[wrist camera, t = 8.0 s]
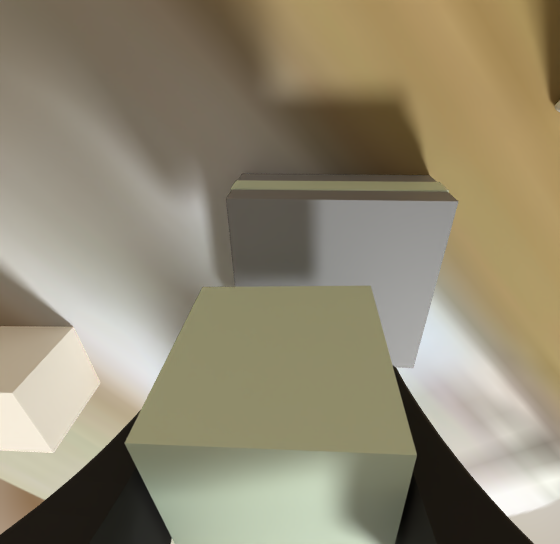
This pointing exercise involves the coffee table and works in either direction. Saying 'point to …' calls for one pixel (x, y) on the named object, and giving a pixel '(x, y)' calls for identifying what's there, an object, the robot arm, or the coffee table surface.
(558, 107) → the supplement box
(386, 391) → the sage block
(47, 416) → the cream block
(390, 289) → the grey striped square box
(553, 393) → the coffee table surface
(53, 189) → the coffee table surface
